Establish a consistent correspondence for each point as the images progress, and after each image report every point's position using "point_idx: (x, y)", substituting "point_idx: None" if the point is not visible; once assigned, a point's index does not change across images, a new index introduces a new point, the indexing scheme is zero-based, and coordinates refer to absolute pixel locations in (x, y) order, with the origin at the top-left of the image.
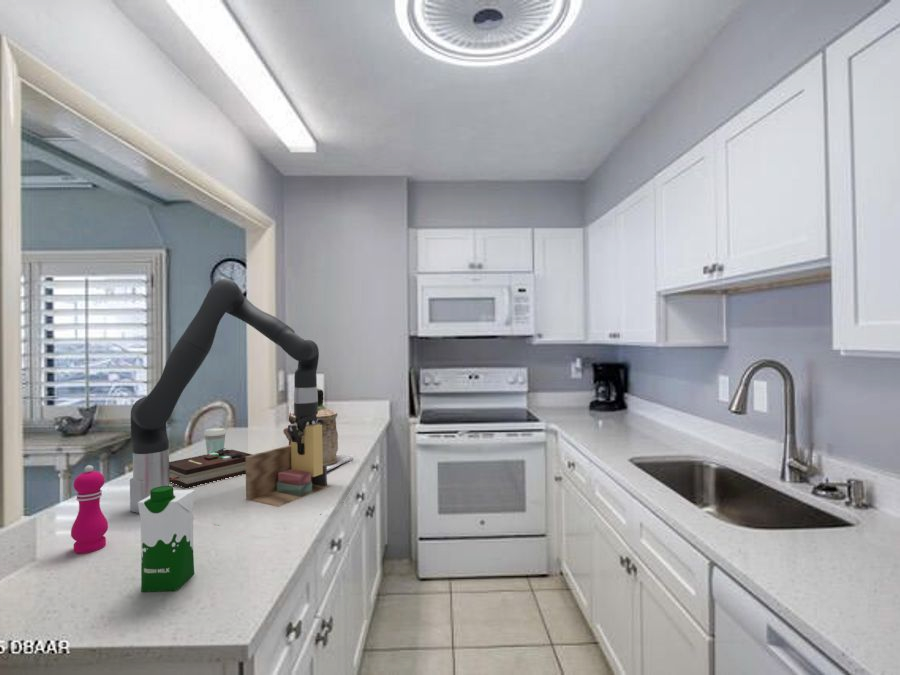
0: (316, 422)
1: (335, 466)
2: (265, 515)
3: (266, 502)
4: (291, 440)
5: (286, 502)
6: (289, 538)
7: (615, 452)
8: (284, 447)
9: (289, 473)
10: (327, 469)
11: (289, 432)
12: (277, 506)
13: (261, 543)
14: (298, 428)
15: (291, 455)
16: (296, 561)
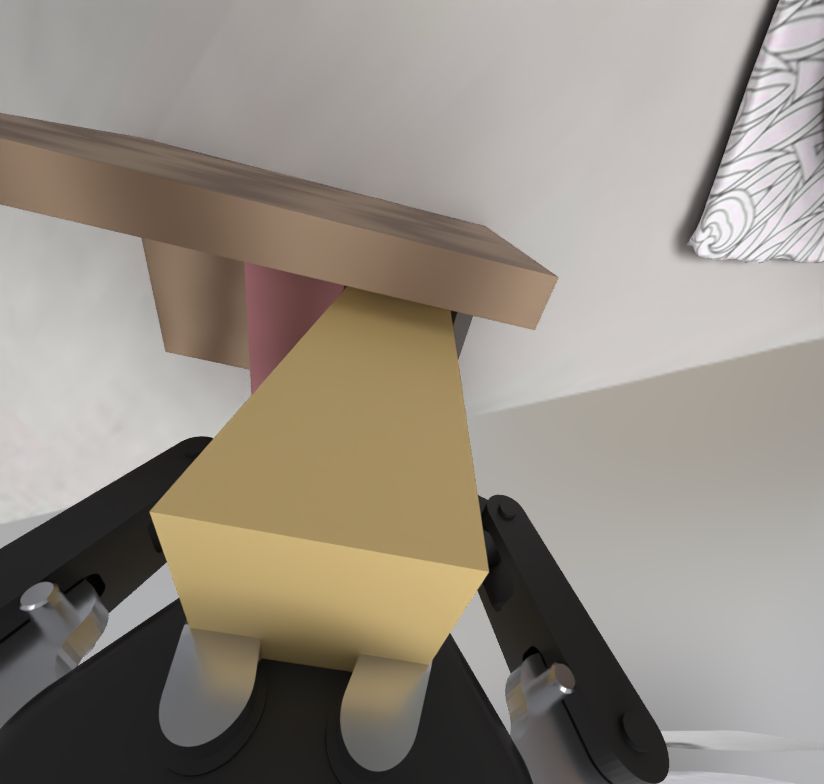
0: (514, 723)
1: (807, 261)
2: (130, 320)
3: (163, 275)
4: (303, 342)
5: (211, 353)
6: (93, 461)
7: (747, 741)
8: (276, 248)
9: (268, 325)
10: (721, 258)
11: (40, 527)
12: (165, 346)
13: (28, 424)
14: (175, 609)
15: (346, 288)
16: (52, 511)
